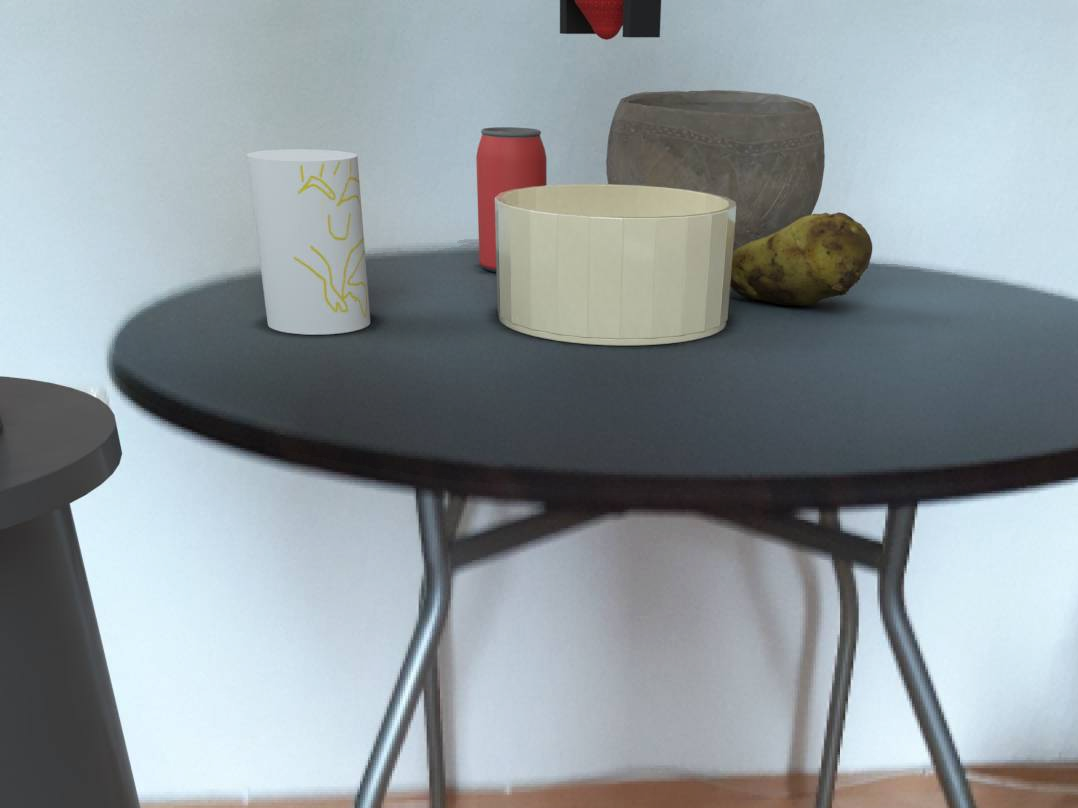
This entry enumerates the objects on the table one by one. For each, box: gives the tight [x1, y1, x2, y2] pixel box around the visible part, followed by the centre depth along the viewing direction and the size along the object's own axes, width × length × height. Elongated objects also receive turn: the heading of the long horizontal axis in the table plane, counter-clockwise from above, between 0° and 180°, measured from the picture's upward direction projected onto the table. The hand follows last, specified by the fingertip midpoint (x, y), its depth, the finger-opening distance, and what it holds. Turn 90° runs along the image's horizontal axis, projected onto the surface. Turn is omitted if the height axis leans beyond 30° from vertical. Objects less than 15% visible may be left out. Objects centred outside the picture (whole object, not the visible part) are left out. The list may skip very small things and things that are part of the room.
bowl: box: [605, 89, 826, 252], centre depth 116 cm, size 21×21×15 cm
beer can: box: [475, 126, 548, 274], centre depth 114 cm, size 7×7×12 cm
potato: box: [730, 211, 873, 307], centre depth 103 cm, size 8×13×8 cm, turn 31°
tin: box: [495, 183, 736, 347], centre depth 98 cm, size 19×19×9 cm
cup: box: [246, 148, 371, 336], centre depth 93 cm, size 8×8×12 cm
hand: (608, 34), depth 83 cm, fingers closed on strawberry, 6 cm apart
